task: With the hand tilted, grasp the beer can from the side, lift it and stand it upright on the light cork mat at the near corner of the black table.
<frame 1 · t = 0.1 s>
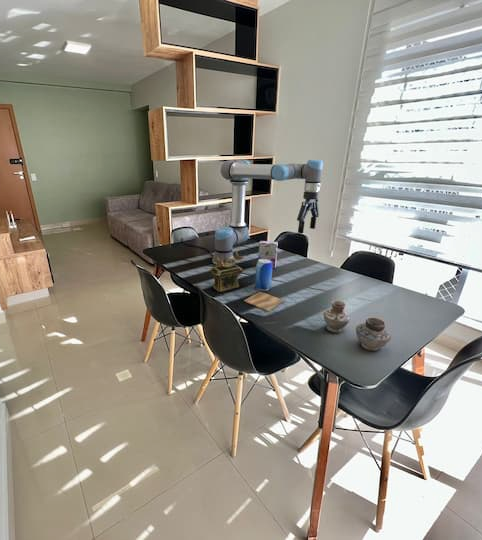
hand: (306, 230, 159), 28 cm above the table, tool pointing down, fingers open, 13 cm apart
corner mat: (263, 301, 142), on the table
pottery: (351, 338, 114), on the table
decorative box: (228, 286, 159), on the table
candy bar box: (266, 266, 186), on the table
beer can: (262, 288, 156), on the table
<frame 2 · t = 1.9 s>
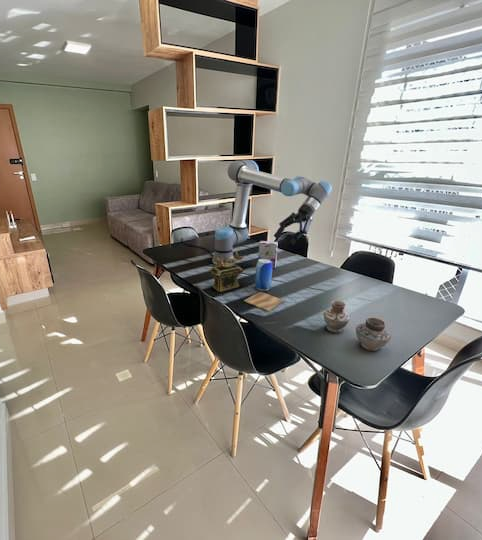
hand: (283, 240, 151), 26 cm above the table, tool tilted 45°, fingers open, 13 cm apart
nothing on the table moved.
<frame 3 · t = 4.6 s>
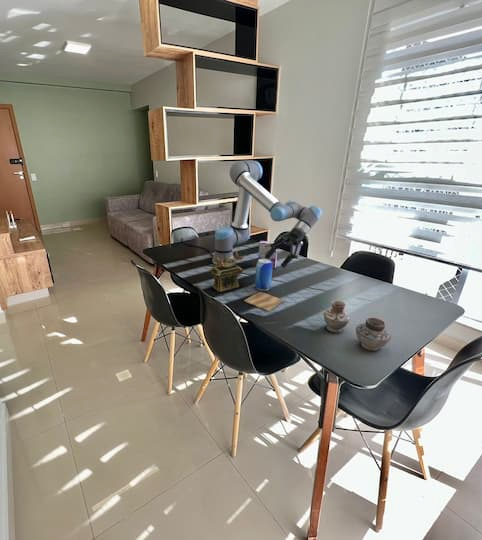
hand: (273, 262, 153), 14 cm above the table, tool tilted 45°, fingers open, 13 cm apart
nothing on the table moved.
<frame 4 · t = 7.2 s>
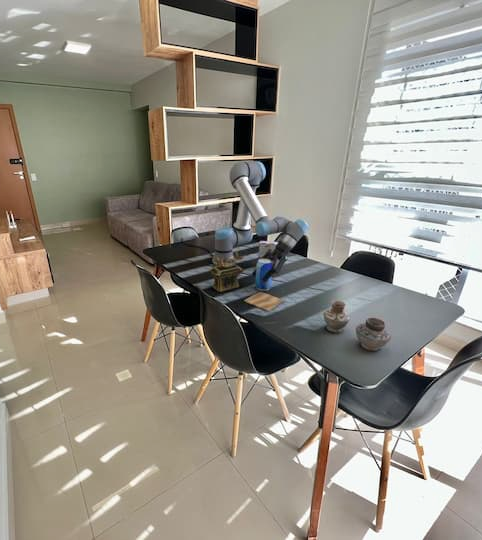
hand: (258, 278, 152), 7 cm above the table, tool tilted 45°, fingers closed on beer can, 8 cm apart
beer can: (262, 288, 156), on the table, touching gripper
everything else where it was.
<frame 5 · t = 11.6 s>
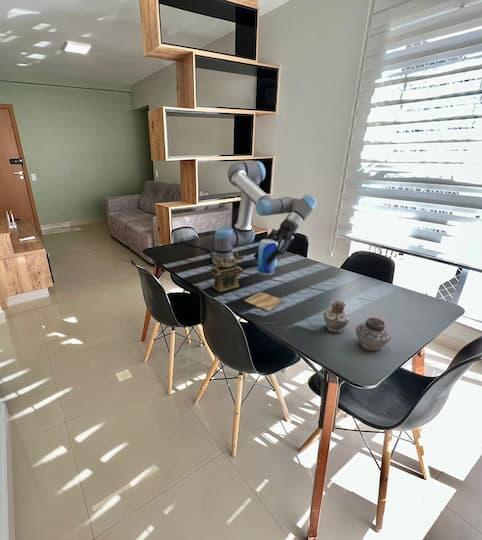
hand: (260, 260, 136), 21 cm above the table, tool tilted 45°, fingers closed on beer can, 8 cm apart
beer can: (265, 273, 140), point 14 cm above the table, touching gripper
everything else where it was.
when the fingers open (7 cm above the table, at t = 16.0 s): beer can stays where it is, resting on corner mat.
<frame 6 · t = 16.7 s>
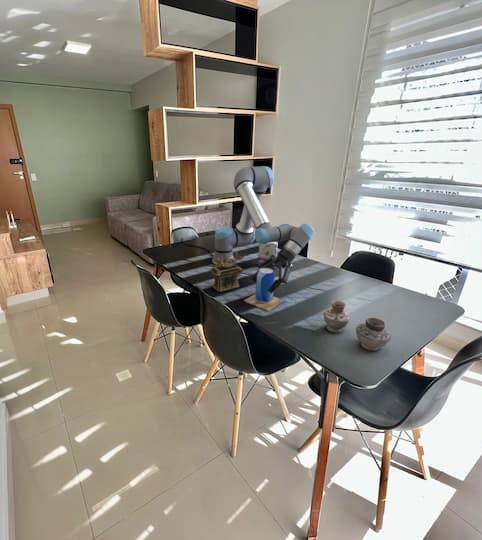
hand: (260, 286, 138), 9 cm above the table, tool tilted 45°, fingers open, 13 cm apart
beer can: (263, 300, 142), resting on corner mat
everything else where it was.
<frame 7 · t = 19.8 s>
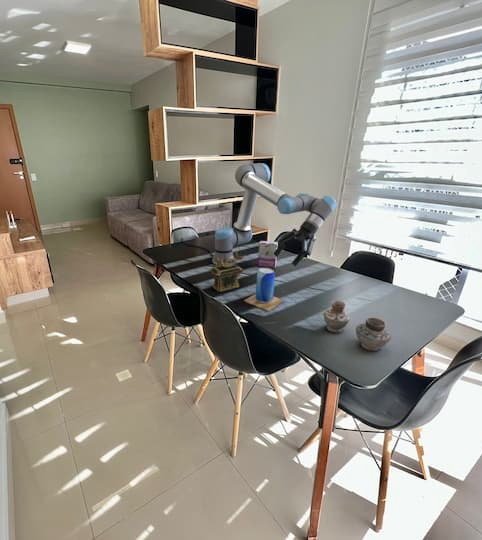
hand: (283, 259, 140), 20 cm above the table, tool tilted 40°, fingers open, 13 cm apart
nothing on the table moved.
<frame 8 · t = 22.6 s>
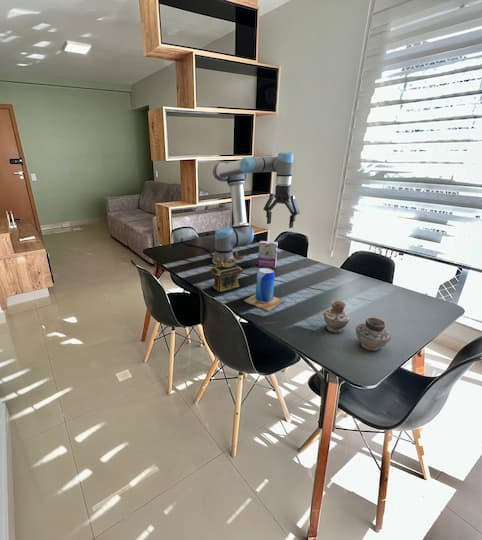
hand: (279, 225, 155), 32 cm above the table, tool pointing down, fingers open, 13 cm apart
nothing on the table moved.
at the end: beer can inside the target area on the corner mat (0.0 cm from its centre), point 0.4 cm above the corner mat's base; beer can tilted 0°; the gripper is holding nothing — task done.
